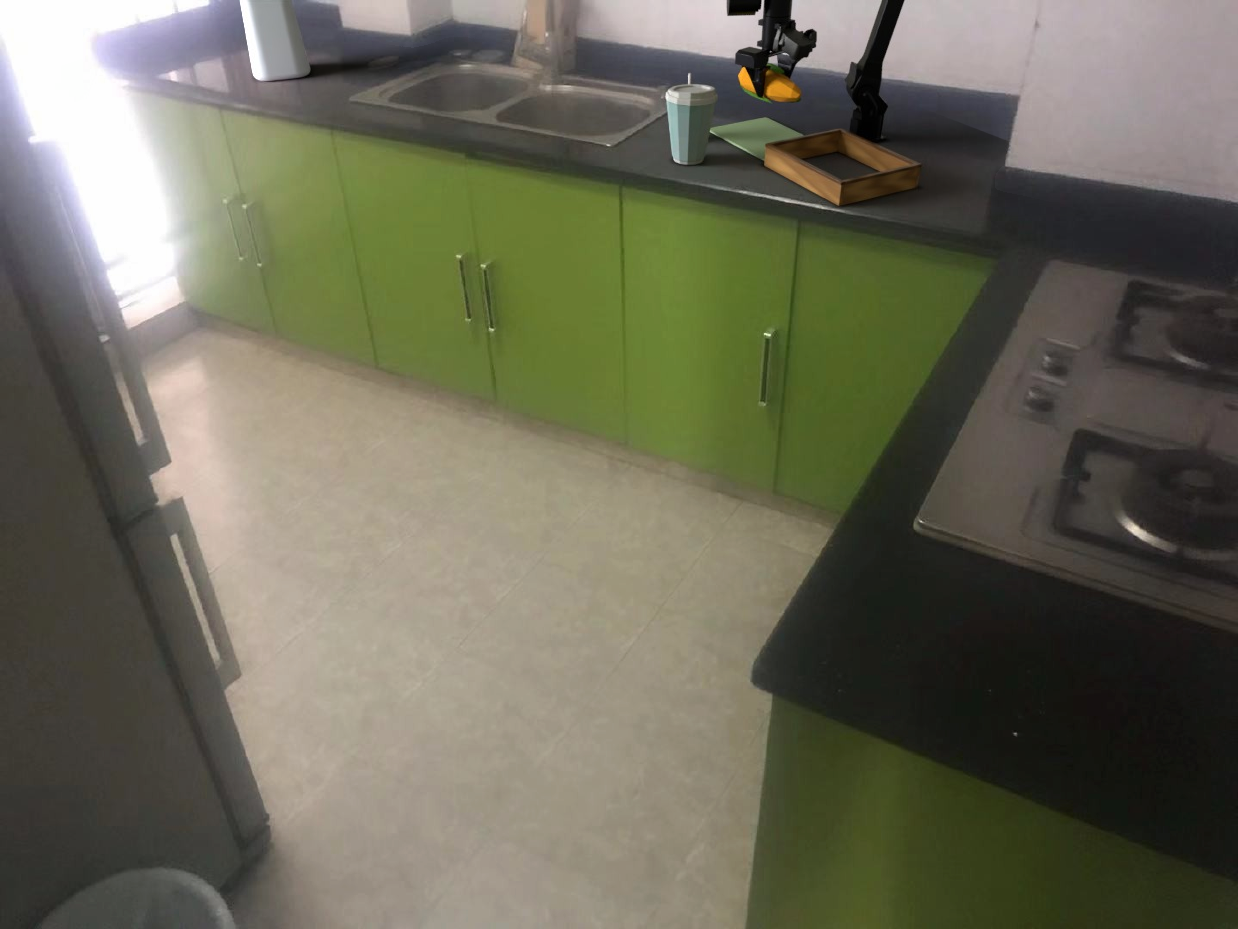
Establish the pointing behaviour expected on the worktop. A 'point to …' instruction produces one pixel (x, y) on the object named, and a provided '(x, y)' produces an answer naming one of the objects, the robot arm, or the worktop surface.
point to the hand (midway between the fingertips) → (771, 93)
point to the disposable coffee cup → (690, 121)
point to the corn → (772, 86)
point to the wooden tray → (892, 166)
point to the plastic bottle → (274, 40)
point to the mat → (754, 134)
